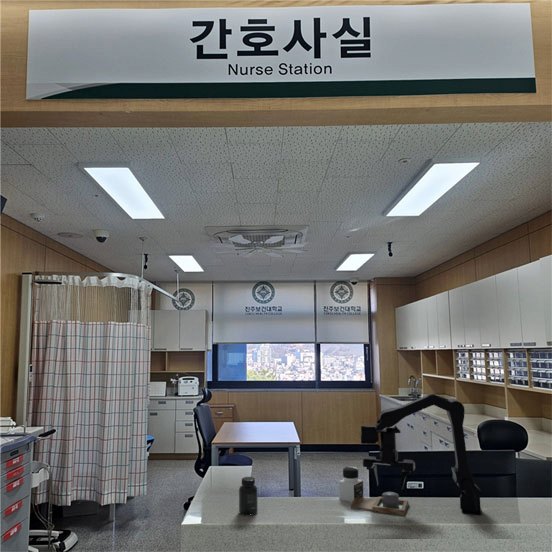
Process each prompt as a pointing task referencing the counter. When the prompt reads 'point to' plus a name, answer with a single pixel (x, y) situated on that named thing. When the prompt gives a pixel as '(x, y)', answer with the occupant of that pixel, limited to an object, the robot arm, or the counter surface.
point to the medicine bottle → (350, 485)
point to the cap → (390, 500)
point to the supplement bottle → (248, 496)
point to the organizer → (378, 505)
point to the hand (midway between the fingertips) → (389, 487)
